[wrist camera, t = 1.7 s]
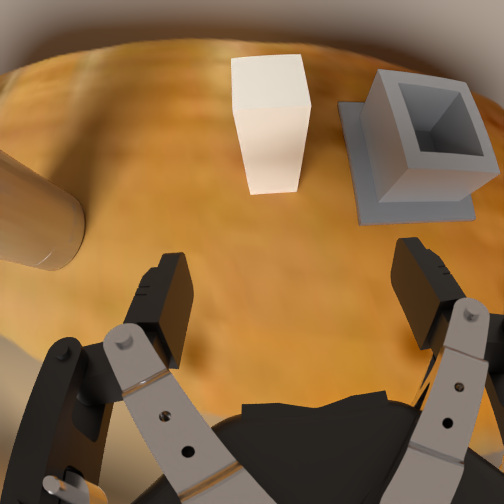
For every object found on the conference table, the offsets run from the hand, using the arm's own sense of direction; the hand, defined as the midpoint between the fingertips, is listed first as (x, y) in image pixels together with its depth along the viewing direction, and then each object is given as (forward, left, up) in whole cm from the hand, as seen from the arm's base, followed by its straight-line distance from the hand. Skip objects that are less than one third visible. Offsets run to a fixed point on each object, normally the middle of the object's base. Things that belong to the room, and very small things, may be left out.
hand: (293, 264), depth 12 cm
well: (+15, +13, -17) cm, 26 cm away
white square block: (0, +12, -17) cm, 21 cm away
